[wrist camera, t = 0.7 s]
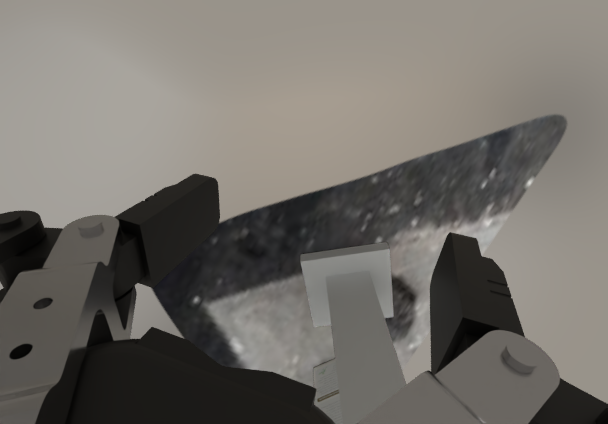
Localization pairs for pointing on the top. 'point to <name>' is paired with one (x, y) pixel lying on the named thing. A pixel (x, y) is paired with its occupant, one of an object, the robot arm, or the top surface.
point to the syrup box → (328, 390)
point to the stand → (356, 322)
